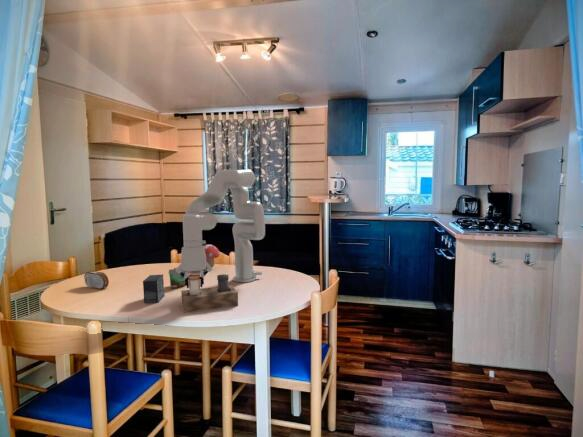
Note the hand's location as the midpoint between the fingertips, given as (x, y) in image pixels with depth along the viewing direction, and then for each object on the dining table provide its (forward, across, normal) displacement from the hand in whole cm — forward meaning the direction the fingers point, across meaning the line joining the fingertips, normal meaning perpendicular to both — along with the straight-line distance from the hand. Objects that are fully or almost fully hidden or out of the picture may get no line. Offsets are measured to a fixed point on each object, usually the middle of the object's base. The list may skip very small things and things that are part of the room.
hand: (194, 286), depth 153 cm
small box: (+9, +18, -15) cm, 25 cm away
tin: (+9, +49, -43) cm, 66 cm away
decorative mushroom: (+9, -7, -70) cm, 70 cm away
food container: (+9, +8, -34) cm, 36 cm away
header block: (+9, -6, -1) cm, 11 cm away
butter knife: (+10, -32, -16) cm, 37 cm away
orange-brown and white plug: (+7, 0, 0) cm, 7 cm away
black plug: (+9, -12, -2) cm, 15 cm away
